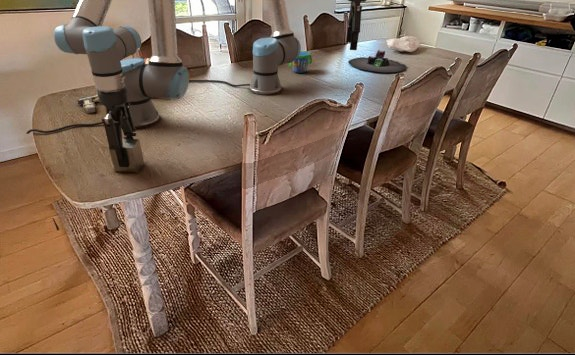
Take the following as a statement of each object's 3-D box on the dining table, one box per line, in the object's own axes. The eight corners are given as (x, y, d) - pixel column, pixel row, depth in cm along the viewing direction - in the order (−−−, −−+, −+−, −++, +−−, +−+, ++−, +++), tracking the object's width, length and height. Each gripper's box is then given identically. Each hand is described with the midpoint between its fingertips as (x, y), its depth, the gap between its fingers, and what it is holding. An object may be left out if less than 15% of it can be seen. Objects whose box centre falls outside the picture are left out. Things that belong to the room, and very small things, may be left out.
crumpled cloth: (372, 47, 255) (376, 34, 249) (400, 41, 275) (404, 29, 269) (399, 60, 243) (404, 46, 237) (427, 52, 263) (432, 40, 257)
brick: (137, 172, 111) (132, 148, 106) (114, 171, 111) (108, 147, 106) (144, 162, 116) (139, 139, 111) (122, 161, 116) (116, 138, 111)
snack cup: (305, 67, 213) (306, 49, 208) (316, 72, 206) (318, 53, 200) (283, 70, 206) (283, 52, 200) (293, 75, 198) (294, 56, 193)
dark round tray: (418, 67, 219) (420, 52, 215) (377, 75, 202) (379, 59, 197) (375, 58, 244) (377, 43, 239) (336, 64, 226) (337, 49, 222)
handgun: (128, 97, 156) (111, 87, 164) (86, 107, 144) (70, 97, 152) (129, 103, 157) (113, 94, 165) (88, 114, 146) (72, 103, 154)
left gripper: (110, 101, 92) (128, 178, 104) (137, 78, 107) (150, 147, 120) (80, 100, 92) (102, 177, 104) (112, 76, 107) (128, 146, 120)
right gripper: (373, -6, 132) (364, 53, 144) (362, -13, 153) (355, 40, 165) (352, -7, 132) (345, 53, 144) (345, -14, 153) (339, 39, 165)
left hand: (128, 160), depth 112 cm, fingers closed on brick, 6 cm apart
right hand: (351, 46), depth 154 cm, fingers open, 13 cm apart
